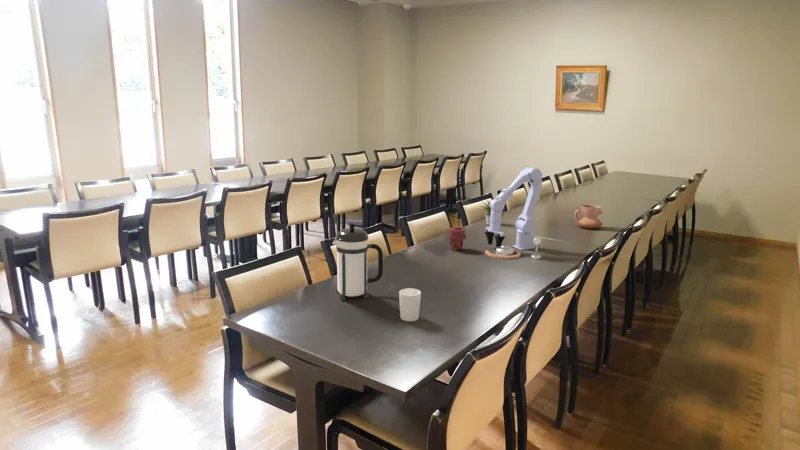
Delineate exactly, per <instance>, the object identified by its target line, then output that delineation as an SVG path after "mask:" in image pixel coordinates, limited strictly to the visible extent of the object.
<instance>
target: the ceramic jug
mask: <svg viewBox="0 0 800 450" xmlns="http://www.w3.org/2000/svg"><path fill="white" fill-rule="evenodd" d="M601 210H602V206H600V205H595V204H582V205H580V209H577V210H575V211H574V217H575V220H576V223H577V225H578V226H579V227H581V228H583V229H588V230H593V229H594V230H595V229H599V228H600V227H602V226H603V222H602V221H601V220H600V219H598V216H600V215H601V214H603V215H605V212H604V211H601ZM578 213H581V215H582V217H581V218H580V219H579V218H578Z"/></svg>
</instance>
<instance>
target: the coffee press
mask: <svg viewBox="0 0 800 450" xmlns="http://www.w3.org/2000/svg"><path fill="white" fill-rule="evenodd" d="M368 240H369V235H368V233H367V231H366V230H363V229H361V228H356V226H355V223H351V222H350V224H349V226H348V227H347V228H343V229H340V230H339V231H338V232H337V234H336V235H335V238H334V240H333V241H332V245H335V246H336V249H335V250H336V261H337V262H336V265H337V266H336V272H337V275H336V276H337V285H336V286H337V289H336V291H335V292H336V293H337V294H340V295H341V296H340V297H341V298H340V301H341V302H345V301H346V300H347V298H348V297H359V296H361V297H363V298H364V299H365V300H367V299H368V298H369V297H370V295H369V294H368V284H370V283H375V282H378V281H380V279H381V278H382V276H383V272H384V271H383V270H384V253H383V250H382V248H381V246H379V245H378V244H375V243H371V244H368ZM369 249H373V250H376V251H377V254H378V255H377V258H378V259H377V262H378V263H377V274H376V276H374V277H370V278H368V250H369Z"/></svg>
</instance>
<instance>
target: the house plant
mask: <svg viewBox="0 0 800 450" xmlns="http://www.w3.org/2000/svg"><path fill="white" fill-rule="evenodd" d="M486 202H487V204H486V203H485V201H484V202H483V201H482V204H483V205H485V206H481V205H479V206H480V208H482V210H481V212H482V211H485V212H487V213H485V214H484V215H485V222H486V225H489V226H490V217H491V208H490V206H489V204H490V202H491V201H488V200H486Z"/></svg>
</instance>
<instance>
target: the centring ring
mask: <svg viewBox="0 0 800 450" xmlns="http://www.w3.org/2000/svg"><path fill="white" fill-rule="evenodd" d="M513 249H514V253H515V254H513V255H512V256H501V255H496V253H493V252H492V253H491V252H490V251H489V250H485V252H484V253H485V255H486V256H489V257H491V258H494V259H500V260H501V259H502V260H513V259H517V258H520V257H521V254H522V253H521V250H519V249H517V248H513Z"/></svg>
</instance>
